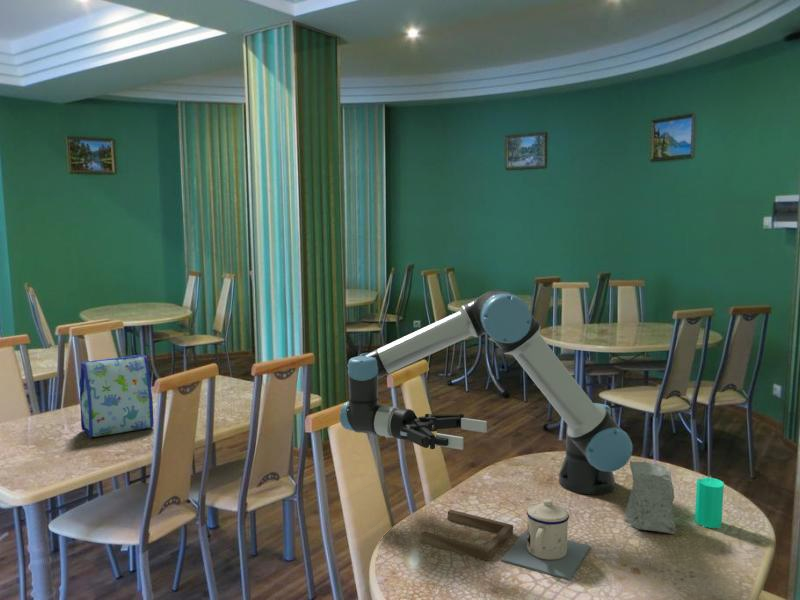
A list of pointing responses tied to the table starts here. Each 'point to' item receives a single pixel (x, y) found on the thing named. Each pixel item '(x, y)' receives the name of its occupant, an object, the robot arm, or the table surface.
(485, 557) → the walnut u-shaped frame
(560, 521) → the teacup with lid
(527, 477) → the table surface
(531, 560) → the slate mat
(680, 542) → the table surface
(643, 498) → the decorative stone
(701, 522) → the candle
